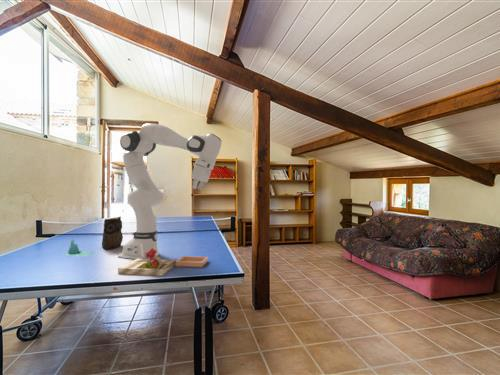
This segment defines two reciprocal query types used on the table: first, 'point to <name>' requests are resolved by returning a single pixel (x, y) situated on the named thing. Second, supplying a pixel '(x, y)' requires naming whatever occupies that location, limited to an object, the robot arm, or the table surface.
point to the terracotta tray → (191, 261)
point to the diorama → (76, 250)
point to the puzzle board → (137, 268)
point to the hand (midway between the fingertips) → (196, 189)
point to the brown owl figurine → (112, 233)
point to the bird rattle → (155, 263)
